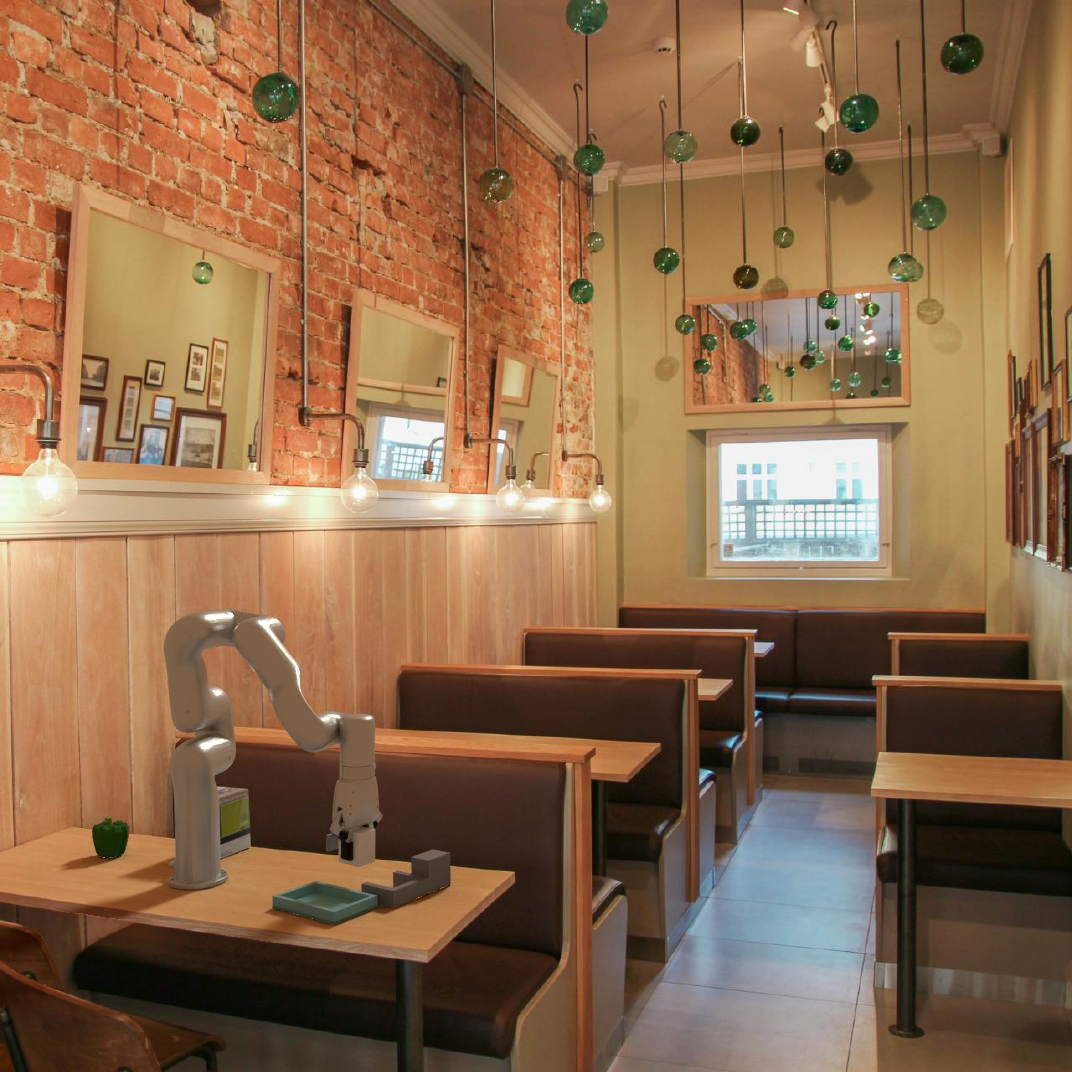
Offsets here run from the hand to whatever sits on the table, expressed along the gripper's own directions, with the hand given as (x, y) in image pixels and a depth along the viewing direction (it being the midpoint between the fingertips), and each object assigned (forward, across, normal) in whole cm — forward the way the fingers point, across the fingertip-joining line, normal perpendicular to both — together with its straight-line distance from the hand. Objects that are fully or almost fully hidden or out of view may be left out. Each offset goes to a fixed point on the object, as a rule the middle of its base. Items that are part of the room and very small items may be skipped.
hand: (356, 855), depth 240 cm
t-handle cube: (+1, 0, -2) cm, 2 cm away
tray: (+7, +13, +4) cm, 15 cm away
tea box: (+9, 0, -48) cm, 49 cm away
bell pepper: (+9, +15, -68) cm, 70 cm away
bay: (+7, -4, +11) cm, 14 cm away
